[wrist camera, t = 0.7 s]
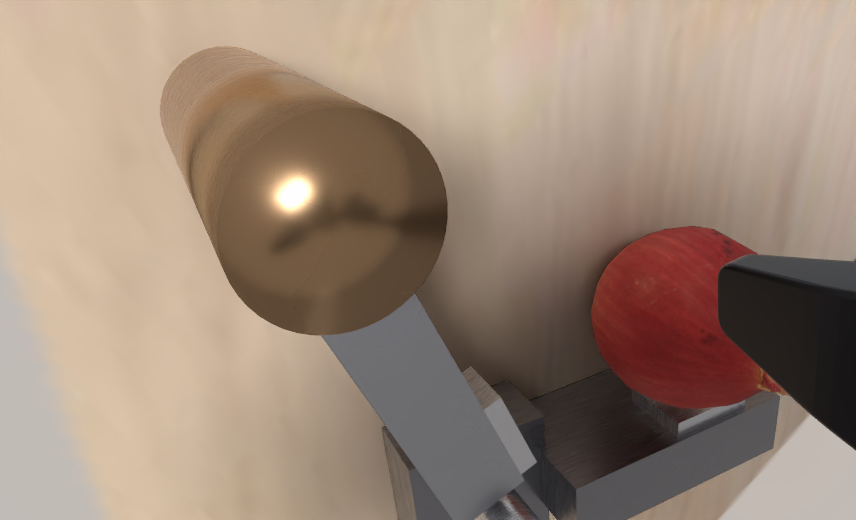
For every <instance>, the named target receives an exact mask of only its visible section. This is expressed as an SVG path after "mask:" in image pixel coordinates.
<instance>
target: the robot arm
mask: <svg viewBox="0 0 856 520" xmlns="http://www.w3.org/2000/svg"><path fill="white" fill-rule="evenodd" d="M718 320H719V324H720V326H721V328H722V330H723V332H724V333H725V334H726V336H727V337H728V338H729V339H730V340H731V341H732V342H734V343H735V344H736V345H737V346H738V347H739V348H740V349H741V350H742V351H743V352H744V353H745V354H746V355H747V356H748V357H750V358H751V359H752V360H753V361H754V362H755V363H756V364H757V365H758V366H759V367H760V368H761V369H762V370H763V371H764V372H766V373H767V374H768V375H769V376H770V377H771V378H772V379H773V380H774V381H775V382H776V383H777V384H778V385H779V386H780V387H781V388H783V389H784V390H785V391H786V392H787V393H788V394H789V395H790V396H791V397H792V398H793V399H794V400H795V401H796V402H797V403H799V404H800V405H801V406H802V407H803V408H804V409H805V410H806V411H807V412H809V413H810V414H811V415H812V416H813V417H814V418H816V419H817V420H818V421H819V422H821V423H822V424H823V425H824V426H825V427H827V428H828V429H829V430H830V431H832V432H833V433H834V434H836V435H837V436H838V437H839V438H841V439H842V440H843V441H844V442H846V443H847V444H848V445H849V446H851V447H852V448H853V449H855V450H856V262H851V261H838V260H824V259H810V258H796V257H783V256H769V255H755V254H749V255H744V256H741V257H739V258H737V259H735V260H733V261H731V262H729V263H727V264H725V265H724V266H723V267H721V269H720V271H719V273H718Z"/></svg>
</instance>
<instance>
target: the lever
mask: <svg viewBox="0 0 856 520" xmlns="http://www.w3.org/2000/svg"><path fill="white" fill-rule="evenodd" d="M160 116H161V122H162V127H163V130H164V133H165V136H166V138H167V140H168V143H169V145H170V147H171V150H172V152H173V154H174V156H175V159H176V161H177V163H178V166H179V168H180V170H181V173H182V175H183V177H184V180H185V182H186V184H187V187H188V189H189V191H190V193H191V196H192V198H193V200H194V203H195V205H196V207H197V210H198V212H199V214H200V217H201V219H202V221H203V224H204V226H205V228H206V230H207V233H208V235H209V237H210V240H211V242H212V244H213V247H214V249H215V251H216V254H217V256H218V258H219V261H220V263H221V265H222V267H223V270H224V272H225V274H226V276H227V278H228V280H229V283H230V284H231V286H232V287H233V289H234V290H235V292H236V293H237V295H238V296H239V297H240V298H241V300H242V301H243V302H244V303H245V304H246V305H247V306H248V307H249V308H250V309H251V310H253V311H254V312H255V313H256V314H257V315H259V316H260V317H262V318H263V319H265V320H267V321H268V322H270V323H272V324H274V325H276V326H278V327H281V328H283V329H286V330H289V331H293V332H296V333H301V334H308V335H321V336H322V337H323V339H324V340H325V342H326V343H327V344H328V346H329V347H330V349H331V350H332V351H333V353H334V354H335V356H336V357H337V358H338V360H339V361H340V363H341V364H342V365H343V367H344V368H345V370H346V371H347V372H348V374H349V375H350V377H351V378H352V379H353V381H354V382H355V384H356V385H357V386H358V388H359V389H360V391H361V392H362V393H363V395H364V396H365V398H366V399H367V400H368V402H369V403H370V405H371V406H372V407H373V409H374V410H375V411H376V413H377V414H378V416H379V417H380V418H381V420H382V421H383V423H384V424H385V425H386V427H387V428H388V430H389V431H390V432H391V434H392V435H393V437H394V438H395V439H396V441H397V442H398V444H399V445H400V446H401V448H402V449H403V451H404V452H405V453H406V455H407V456H408V458H409V459H410V460H411V462H412V463H413V465H414V466H415V467H416V469H417V470H418V472H419V473H420V474H421V476H422V477H423V479H424V480H425V481H426V483H427V484H428V486H429V487H430V488H431V490H432V491H433V493H434V494H435V495H436V497H437V498H438V500H439V501H440V502H441V504H442V505H443V507H444V508H445V509H446V511H447V512H448V514H449V515H450V516H451V518H452V519H453V520H474V519H475V518H477V517H478V516H479V515H481V514H482V513H483V512H484V511H486V510H487V509H488V508H490V507H491V506H492V505H493V504H495V503H496V502H497V501H499V500H500V499H501V498H502V497H504V496H505V495H506V494H508V493H509V492H510V491H511V490H513V489H514V488H515V487H517V486H518V485H519V484H520V483H522V482H523V481H524V478H523V477H522V475H521V474H522V473H524V472H525V471H526V470H528V469H529V468H530V467H531V466H533V465H534V464H535V463H537V461H536V460H535V458H534V456H533V454H532V452H531V451H530V449H529V447H528V445H527V443H526V442H525V440H524V438H523V436H522V434H521V433H520V431H519V429H518V427H517V425H516V424H515V422H514V420H513V418H512V416H511V415H510V413H509V411H508V409H507V407H506V406H505V404H504V402H503V400H502V399H501V397H500V396H499V395H498V394H497V393H496V392H495V391H494V390H493V389H492V388H491V387H490V386H489V385H488V383H487V382H486V381H485V380H484V379H483V378H482V377H481V376H480V375H479V374H478V373H477V372H476V371H475V370H474V369H473V368H472V367H471V366H470V367H469V368H468V369H466V370H465V371H464V372H462V373H461V371H460V369H459V368H458V366H457V364H456V362H455V361H454V359H453V357H452V356H451V354H450V352H449V350H448V349H447V347H446V345H445V344H444V342H443V340H442V339H441V337H440V335H439V333H438V332H437V330H436V328H435V327H434V325H433V323H432V321H431V320H430V318H429V316H428V315H427V313H426V311H425V310H424V308H423V306H422V304H421V303H420V301H419V299H418V298H417V296H416V294H415V292H416V291H417V290H418V289H419V287H420V286H421V285H422V284H423V283H424V281H425V280H426V278H427V276H428V275H429V273H430V272H431V270H432V268H433V266H434V264H435V262H436V260H437V258H438V256H439V253H440V250H441V248H442V245H443V241H444V236H445V232H446V225H447V197H446V190H445V186H444V182H443V179H442V175H441V173H440V171H439V168H438V166H437V163H436V162H435V160H434V158H433V157H432V155H431V153H430V152H429V150H428V149H427V148H426V147H425V145H424V144H423V143H422V141H421V140H420V139H419V138H418V137H416V136H415V135H414V134H413V133H412V132H411V131H410V130H409V129H407V128H406V127H404V126H403V125H402V124H400V123H399V122H397V121H395V120H393V119H391V118H389V117H387V116H385V115H383V114H381V113H379V112H377V111H375V110H372V109H370V108H368V107H366V106H364V105H362V104H360V103H358V102H356V101H354V100H351V99H349V98H347V97H345V96H343V95H341V94H339V93H337V92H335V91H333V90H331V89H328V88H326V87H324V86H322V85H320V84H318V83H316V82H314V81H312V80H310V79H308V78H305V77H303V76H301V75H299V74H297V73H295V72H293V71H291V70H289V69H287V68H285V67H282V66H280V65H278V64H276V63H274V62H272V61H270V60H268V59H266V58H264V57H261V56H259V55H257V54H255V53H253V52H251V51H248V50H245V49H241V48H236V47H214V48H209V49H206V50H203V51H200V52H198V53H196V54H194V55H192V56H190V57H189V58H187V59H186V60H184V61H183V62H182V63H181V64H180V65H179V66H178V67H177V68H176V69H175V70H174V71H173V73H172V74H171V76H170V77H169V79H168V81H167V83H166V85H165V87H164V90H163V94H162V98H161V105H160Z"/></svg>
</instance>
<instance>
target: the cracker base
mask: <svg viewBox="0 0 856 520" xmlns="http://www.w3.org/2000/svg"><path fill="white" fill-rule="evenodd" d="M491 388H492V389H493V390H494V391H495V392H496V393H497V394H498V395H499V396H500V397H501V399H502V400H503V402H504V404H505V406H506V407H507V409H508V411H509V413H510V415H511V416H512V418H513V420H514V422H515V424H516V425H517V427H518V429H519V431H520V433H521V434H522V436H523V438H524V440H525V442H526V443H527V445H528V447H529V449H530V451H531V452H532V454H533V456H534V458H535V460H536V461H537V463H535V464H534V465H533V466H531V467H530V468H529V469H528V470H526V471H525V472H524V473H522V474H521V475H522V477H523V478H524V481H523V482H522V483H520V484H519V485H518V486H517V487H515V488H514V489H513V490H511V491H510V492H509V493H508V494H506V495H505V496H504V497H502V498H501V499H500V500H499V501H497V502H496V503H495V504H493V505H492V506H491V507H490V508H488V509H487V510H486V511H484V512H483V513H482V514H481V515H479V516H478V517H477V518H475V519H474V520H549V511H550V512H551V513H552V514H553V515H554V517H555V518H556V519H557V520H627V519H629V518H631V517H633V516H635V515H637V514H639V513H641V512H643V511H645V510H647V509H650V508H652V507H654V506H656V505H658V504H660V503H662V502H664V501H666V500H668V499H670V498H672V497H674V496H676V495H678V494H680V493H682V492H684V491H686V490H688V489H690V488H693V487H695V486H697V485H699V484H701V483H703V482H705V481H707V480H709V479H711V478H713V477H715V476H717V475H719V474H721V473H723V472H725V471H727V470H729V469H731V468H734V467H736V466H738V465H740V464H742V463H744V462H746V461H748V460H750V459H752V458H754V457H756V456H758V455H760V454H762V453H764V452H766V451H768V450H770V449H772V448H773V445H774V438H775V430H776V423H777V415H778V408H779V400H780V396H779V395H777V394H776V393H774V392H768V391H766V390H763V391H761V392H759V393H757V394H755V395H753V396H751V397H749V398H747V399H745V400H743V401H742V402H740V403H737V404H733V405H729V406H721V407H711V408H700V409H682V408H677V407H674V406H670V405H666V404H663V403H661V402H659V401H656V400H654V399H652V398H649V397H647V396H645V395H643V394H641V393H639V392H637V391H635V390H633V389H631V388H629V387H628V386H627V385H626V384H625V383H624V382H623V381H622V380H621V379H620V378H619V377H618V376H617V375H616V374H615V373H614V372H613V371H612V369H609V370H607V371H604V372H602V373H599V374H597V375H594V376H592V377H589V378H587V379H584V380H582V381H579V382H577V383H574V384H571V385H569V386H566V387H564V388H561V389H559V390H556V391H554V392H551V393H549V394H546V395H544V396H541V397H539V398H536V399H533V400H531V401H529V400H528V399H527V398H526V397H525V396H524V395H523V394H522V393H520V392H519V391H518V390H517V389H516V388H515V387H514V386H513V385H512V384H511V383H510V382H509V381H508V380H507V381H505V382H502V383H499V384H497V385H494V386H491ZM382 432H383V437H384V443H385V448H386V454H387V460H388V465H389V471H390V476H391V482H392V487H393V493H394V499H395V504H396V510H397V515H398V520H453V519H452V518H451V516H450V515H449V514H448V512H447V511H446V509H445V508H444V507H443V505H442V504H441V502H440V501H439V500H438V498H437V497H436V495H435V494H434V493H433V491H432V490H431V488H430V487H429V486H428V484H427V483H426V481H425V480H424V479H423V477H422V476H421V474H420V473H419V472H418V470H417V469H416V467H415V466H414V465H413V463H412V462H411V460H410V459H409V458H408V456H407V455H406V453H405V452H404V451H403V449H402V448H401V446H400V445H399V444H398V442H397V441H396V439H395V438H394V437H393V435H392V434H391V432H390V431H389V430H388V428H387V427H383V428H382Z"/></svg>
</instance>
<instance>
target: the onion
mask: <svg viewBox="0 0 856 520" xmlns="http://www.w3.org/2000/svg"><path fill="white" fill-rule="evenodd" d="M749 254H755V255H758V254H757V253H756V252H754V251H752V250H750V249H748V248H747V247H745V246H743V245H741V244H740V243H738V242H736V241H734V240H732V239H730V238H729V237H727V236H725V235H723V234H721V233H720V232H718V231H716V230H714V229H708V228H702V227H696V226H689V227H680V228H671V229H664V230H661V231H658V232H654V233H651V234H648V235H646V236H644V237H642V238H641V239H639V240H637V241H635V242H633V243H631V244H629V245H627V246H626V247H625V248H624V249H623V250H622V251H621V252H620V253H619V254H618V255H617V256H616V257H615V258H614V259H613V260H612V261H611V262H610V263H609V264H608V265H607V267H606V269H605V271H604V272H603V274H602V276H601V278H600V280H599V281H598V284H597V287H596V291H595V295H594V299H593V304H592V309H591V320H592V328H593V336H594V339H595V341H596V344H597V346H598V349H599V352H600V354H601V355H602V357H603V358H604V360H605V361H606V362H607V364H608V365H609V367H610V368H611V369H612V371H613V372H614V373H615V374H616V375H617V376H618V377H619V378H620V379H621V380H622V381H623V382H624V383H625V384H626V385H627V386H628V387H629V388H631V389H633V390H635V391H637V392H639V393H641V394H643V395H645V396H647V397H649V398H652V399H654V400H656V401H659V402H661V403H663V404H666V405H670V406H674V407H677V408H682V409H700V408H711V407H721V406H729V405H733V404H737V403H740V402H742V401H743V400H745V399H747V398H749V397H751V396H753V395H755V394H757V393H759V392H761V391H763V390H766V391H768V392H774V393H778V394H782V395H789V394H788V393H787V392H786V391H785V390H784V389H783V388H781V387H780V386H779V385H778V384H777V383H776V382H775V381H774V380H773V379H772V378H771V377H770V376H769V375H768V374H767V373H766V372H764V371H763V370H762V369H761V368H760V367H759V366H758V365H757V364H756V363H755V362H754V361H753V360H752V359H751V358H750V357H748V356H747V355H746V354H745V353H744V352H743V351H742V350H741V349H740V348H739V347H738V346H737V345H736V344H735V343H734V342H732V341H731V340H730V339H729V338H728V337H727V336H726V334H725V333H724V332H723V330H722V328H721V326H720V324H719V320H718V273H719V271H720V269H721V267H723V266H724V265H725V264H727V263H729V262H731V261H733V260H735V259H737V258H739V257H741V256H744V255H749ZM789 396H790V395H789Z"/></svg>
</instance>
